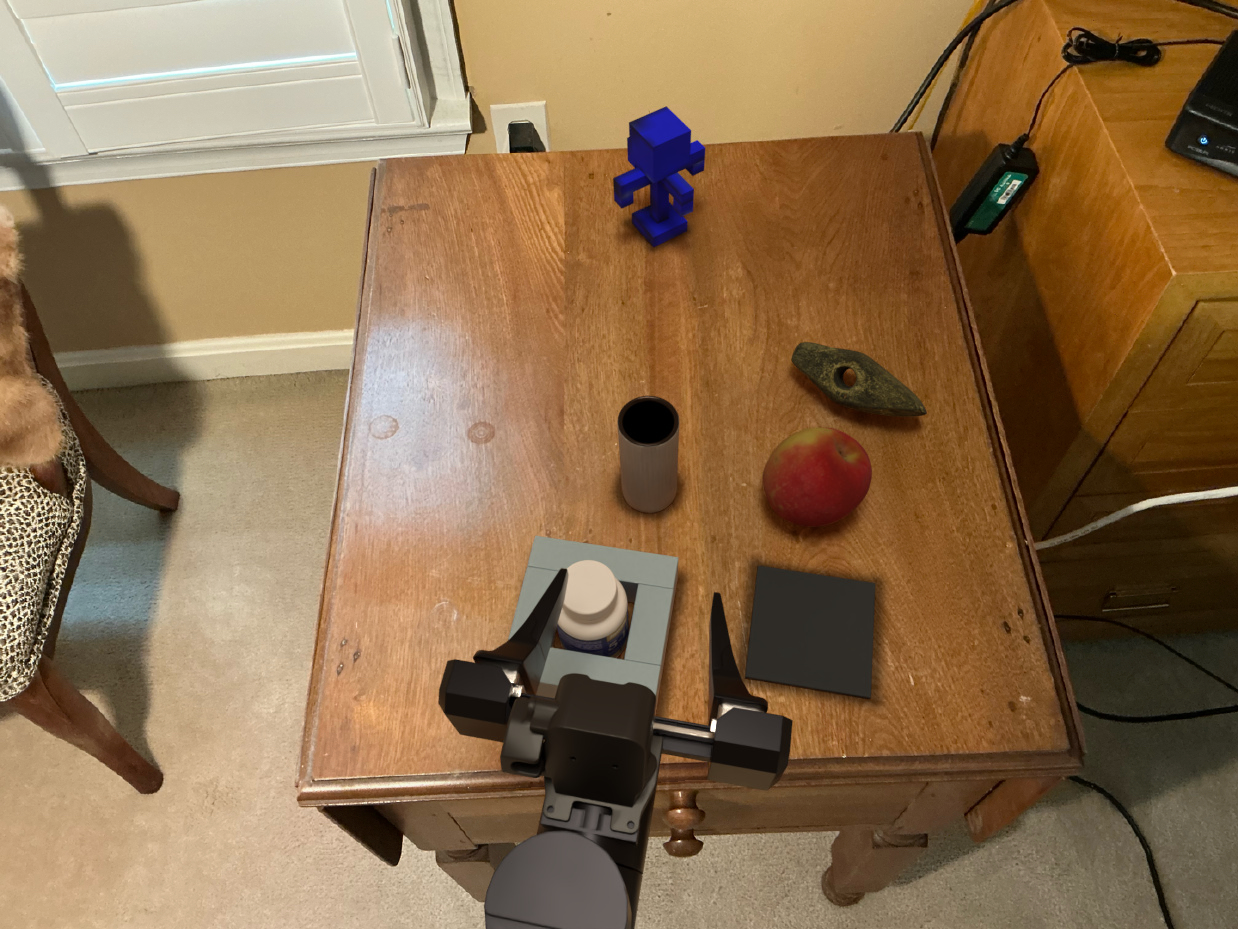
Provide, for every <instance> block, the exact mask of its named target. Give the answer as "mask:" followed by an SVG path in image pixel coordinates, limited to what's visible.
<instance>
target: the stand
mask: <svg viewBox="0 0 1238 929" xmlns="http://www.w3.org/2000/svg"><path fill="white" fill-rule="evenodd" d="M533 538H534V539H533V542H532V545H531V549H530V553H529V557H528V561H527V567H526V568H525V573H524V576H523V580H522V584H521V588H520V592H519V596H518V600H517V602H516V607H515V612H514V614H513V618H512V622H511V626H510V631H509V634H508V638H507V641H508V640H509V639H510V638H511V637H512V636H513V635H514V634H515V633H516V631H517V630H518V629H519V628H520V627H521V626H522V624H523V623H524V622H525V621H526V619H527V618H528V616H529V615H530V614H531V612H533V609H534V608H535V606H536V605H537V603H538V602H539V600H540V599H541V597H542V596H543V594H544V593H545V591H546V590H547V588H548V587H549V585H550V584H551V582H552V581H553V579H554V578H555V576H556V575H557V573H558V572H559V570H560V569H561V568H564V569H567V568H568V567H570V566H571V565H572V564H574V563H576V562H579V561H584V560H593V561H597V562H600V563H602V564H604V565H606V566H607V567H608V568H609V569H610V570H611V571H612V573H613V574H614V576H615V578H617V579H618V581H619V582H620V583H621V584H622V586H623V588H624V590H625V593H626V597H627V603H633V604H634V605H633V610H632V615H631V621H630V624H629V636H628V641H627V644H626V647H625V652H624V658H623V659H622V658H618V657H617V658H611V657H605V656H599V655H593V654H587V653H581V652H575V651H569V650H564V649H563V648H558V647H557V648H556V647H554V644H555V640H556V636H557V632H558V630H557V627H556V630H555V633H554V637H553V640H552V643H551V647H550V650H549V653H548V657H547V660H546V663H545V667H544V670H543V673H542V676H541V680H540V683H539V686H538V690H537V693H536V695H538V696H544V697H549V698H555V695H556V691H557V688H558V685H559V681H560V679H561V678H562V677H563V676H564V675H566V674H570V673H579V674H585V675H588V676H589V677H590V678H591V679H594V680H600V681H605V682H611V683H617V684H626V683H628V682H632V683H637V684H641V685H644V686H646V687H648V688H649V689H651V690H652V691H653V692H654V694H655V696H656V708H655V715H657V709H658V701H659V696H660V690H661V682H662V677H663V671H664V666H665V659H666V653H667V647H668V640H669V634H670V629H671V624H672V622H671V621H672V616H673V609H674V603H675V597H676V592H677V585H678V579H679V562H680V561H679V557H678V556H673V555H667V554H660V553H653V552H647V551H641V550H634V549H627V548H621V547H613V546H607V545H601V544H595V543H589V542H588V543H587V542H581V541H574V540H569V539H568V540H567V539H561V538H554V537H550V536H549V537H548V536H541V535H534V537H533Z"/></svg>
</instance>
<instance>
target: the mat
mask: <svg viewBox="0 0 1238 929" xmlns="http://www.w3.org/2000/svg"><path fill="white" fill-rule="evenodd" d="M753 594H754V595H753V602H752V603H753V604H752V612H751V621H750V628H749V630H750V631H749V638H748V647H747V656H746V663H745V672H744V673H745V674H744V678H745V679H748V680H753V681H760V682H766V683H772V684H777V685H783V686H789V687H796V688H802V689H806V690H807V689H808V690H813V691H819V692H825V693H831V694H836V695H843V696H849V697H855V698H860V699H861V698H862V699H867V700H870V699H871V698H872V684H873V683H872V681H873V659H874V658H873V656H874V655H873V654H874V633H875V632H874V628H875V604H876V582H872V581H871V582H869V581H864V580H858V579H851V578H845V577H839V576H838V577H837V576H832V575H824V574H818V573H811V572H804V571H798V570H792V569H786V568H785V569H784V568H778V567H771V566H765V565H757V568H756V577H755V586H754V593H753Z"/></svg>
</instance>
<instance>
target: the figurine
mask: <svg viewBox="0 0 1238 929" xmlns="http://www.w3.org/2000/svg"><path fill="white" fill-rule="evenodd" d="M626 149H627V150H626V151H627V161H628V163H629V164H630V165H631V167H633V169H630V170H627V171H626V172H623V173H621V174H619V175H617V176H614V177H613V178H612V185H613V201H614V202H615V203H616V204H617V205H618V207H619V208H620V209H622V210H623V209H624V208H627V207H629V206H632V205H633V204H634V203H635V200H634V199H635V198H634V193H635V192H637V191H639V190H641V189H643V188H646V187H648V186H649V205H646V206H643V208H640V209H637V210H636V211H634V212H632V213H631V225H633V226H634V228H635V229H636V230H637V232H639V233H640V234H641V235H642V236H643V238H645V240H646V242H648V243H649V244H650V245H651V246H652V248H655V247H658V246H660V245H661V244H664V243H666V242H668V241H670V240H673V239H674V238H676V237H678V236H680V235H682V234H684V233H686V232H688V220H687V219H686V218H685V217H684V216H687V215H689V214H691V213H693V212H694V198H695V188H693V186H692V185H691V184H690V183H689V182H688V181H687V180H686V179H685V178H684V177H683V176H682V175H681V174H680V172H681V171H683V170H685V171H687V172H688V173H689V174H690V175H691V176H692V177H694V176H696V175H699V174H700V173H702V172H705V161H706V147H705V146H704V145H703V144H702V143H701V142H700V141H699V140H698V139H696V140H694V141H692V130H691V128H690V127H689V126H688V125H686V123H685V122H683V121H682V120H681V118H679V117H678V116H677V115H676V114H675V113H674V112H673V111H672V110H671V109H670V108H669V107H668V106H662V107H661V108H659V109H656V110H653V111H652V112H650V113H647V114H645V115H643V116H641V117H638V118H636V119H634V120H631V121H629V122H628V137H626ZM670 196H671V197H672V203H671V202H670Z"/></svg>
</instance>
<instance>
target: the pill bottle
mask: <svg viewBox="0 0 1238 929" xmlns="http://www.w3.org/2000/svg"><path fill="white" fill-rule="evenodd" d="M567 570H568V575H569V576H568V582H567V588H566V594H565V600H564V603H563V607H562V610H561V613H560V617H559V620H558V623H557V633H558V637H559V642H560V644H561V647H562V649H564V650H569V651H575V652H581V653H587V654H593V655H599V656H605V657H611V658H617V659H618V658H619V657H620V655H621V654H622V653H623V652H624V650H625V649H626V647H627V641H628V636H629V631H630V622H629V605H628V603H629V602H627V597H626V593H625V590H624V588H623V586H622V584H621V583H620V582H619V581H618V579H617V578H615V576H614V574H613V573H612V571H611V570H610V569H609V568H608V567H607V566H606V565H604V564H602V563H600V562H597V561H593V560H584V561H579V562H576V563H574V564H572V565H571V566H570V567H568V568H567Z"/></svg>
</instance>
